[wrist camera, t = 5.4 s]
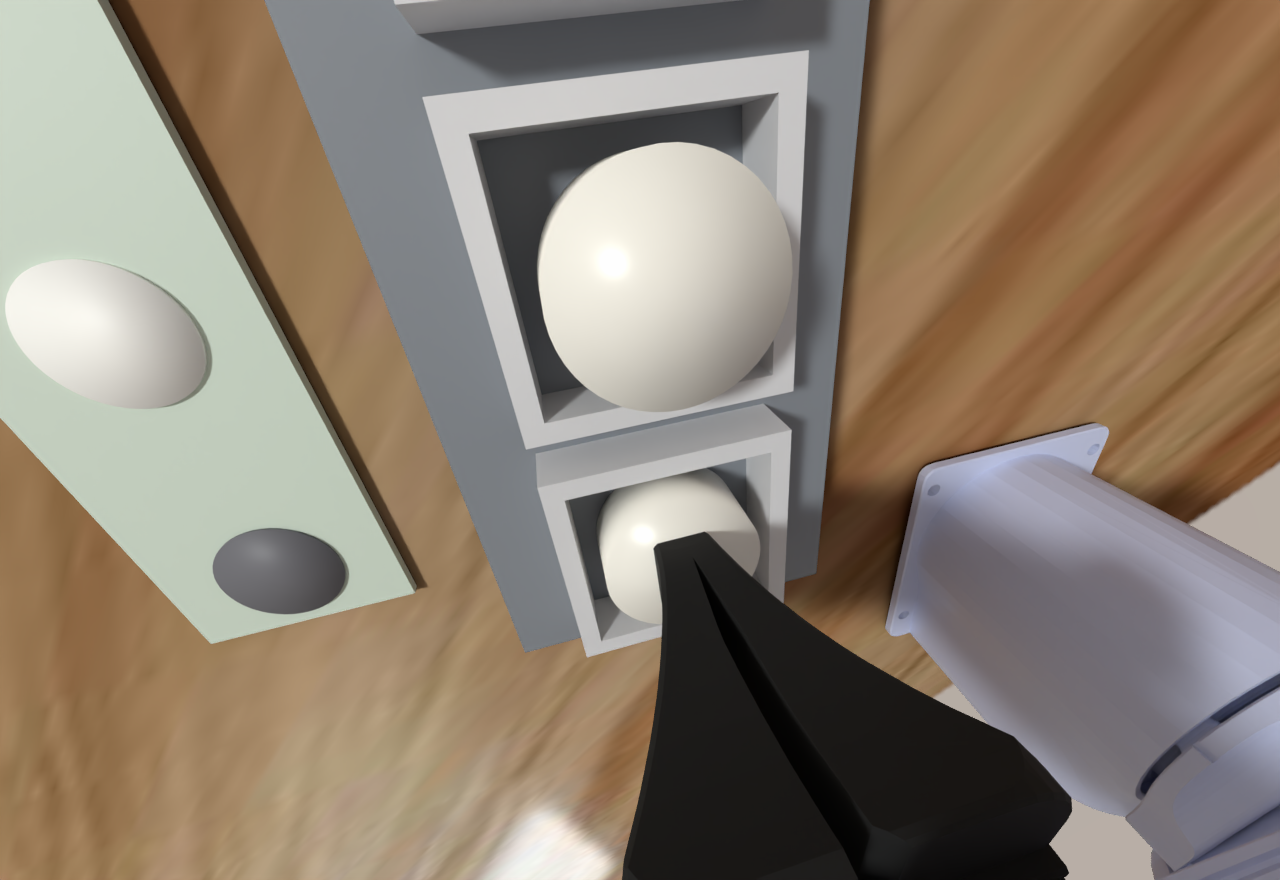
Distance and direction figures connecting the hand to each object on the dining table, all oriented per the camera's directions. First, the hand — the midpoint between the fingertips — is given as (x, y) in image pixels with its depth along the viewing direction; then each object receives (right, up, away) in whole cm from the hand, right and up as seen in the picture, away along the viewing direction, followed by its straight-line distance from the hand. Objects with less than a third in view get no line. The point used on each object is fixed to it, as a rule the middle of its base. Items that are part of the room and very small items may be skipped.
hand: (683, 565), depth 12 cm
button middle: (-1, +6, -3) cm, 7 cm away
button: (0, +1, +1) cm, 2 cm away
